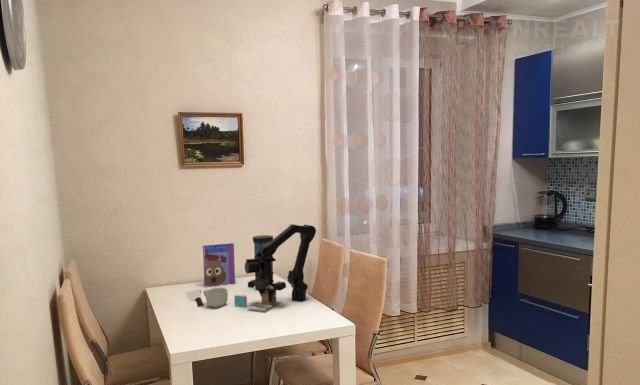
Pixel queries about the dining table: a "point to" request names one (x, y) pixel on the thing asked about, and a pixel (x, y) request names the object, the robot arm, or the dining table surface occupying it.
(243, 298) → the tile
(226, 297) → the teacup
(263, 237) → the advertising column
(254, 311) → the mat
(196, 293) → the kitchen cleaver
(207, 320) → the dining table surface
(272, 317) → the dining table surface
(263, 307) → the turner
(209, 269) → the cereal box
